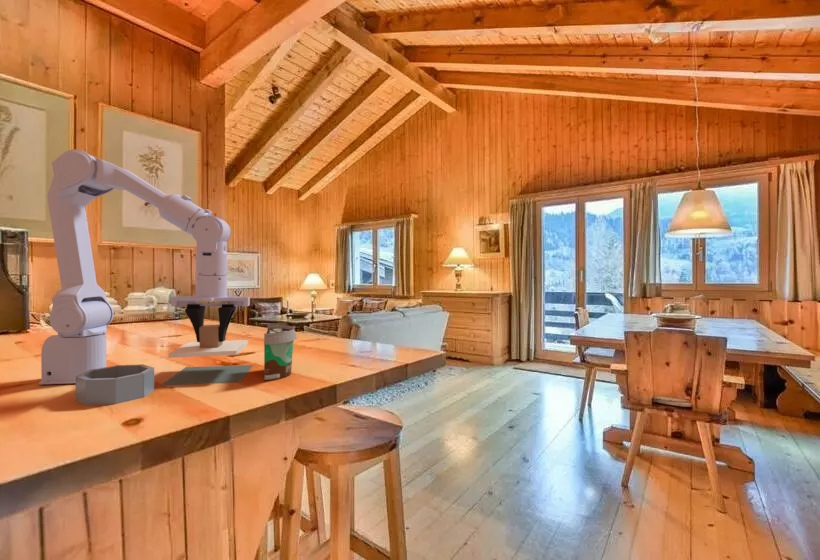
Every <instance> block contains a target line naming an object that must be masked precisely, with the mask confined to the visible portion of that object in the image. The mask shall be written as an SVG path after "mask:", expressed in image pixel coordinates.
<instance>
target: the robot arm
mask: <svg viewBox="0 0 820 560" xmlns="http://www.w3.org/2000/svg"><path fill="white" fill-rule="evenodd" d="M51 165H52V171H53V177H52V180H51V183H50V185H49V188H48V191H47V197H46V198H47V204H48V211H49V216H50V217H49V218H50V223H51V231H52V235H53V236H52V237H53V241H54V248H55V254H56V260H57V261H56V262H57V267H58V274H59V280H60V286H61V287H60V289H58V291H57V292H56V293H55V294H54V295H53V297H52V298H51V300H52V301H51V303H52V308H51V311H50V314H49V324H50V326H51V328H52V329H53V331H55V332H56V333H57V334H54V335H49V336H48V337H47V338H46V339H45V340H44V341H43V344H42V346H41V352H40V353H41V355H40V357H41V360H40V361H41V362H40V363H41V366H40V367H41V370H40V371H41V380H40V381H39V382H38V385H42V386H43V385H62V384H65V385H67V384H68V385H69V384H76V376H77V375H79V374H82V373H84V372H86V371H88V370H92V369H98V368H104V367H107V331H108V325H110V324H111V323H112V321H113V319H114V314H115V312H114V308H113V306H112V305H111V303H110V302H109V301H108V298H107V293H106V291H105V290H104V289H103V288H102V287H101V286H100V285H98V282H97V276H96V270H95V264H94V263H95V262H94V257H93V250H92V244H91V236H90V231H89V230H90V229H89V224H88V218H87V212H86V211H87V210H86V207H87V205H89V204H90V203H91V202H92V201H93V200H95V199H98V198H99V197H102V196H105V195H106V194H109V193H110V192H113V191H115V190H117V191H127V192H128V193H130V194H132V195H134V196H135V197H138V198H140V199H141V200H143V201H145V202H146V203H148V204H150V205H151V206H154V207H156V209H158V212H159V215H160V217H161V218H162V219H163V220H164V221H167V222H169V223H170V224H172V225H174V226H176V227H177V228H179V229H180V230H182V231H184V232H186V233H187V234H189V235H191V236H192V238H193V239H194V240H195V242H196V253H195V256H196V259H195V268H196V269H195V270H196V271H195V295H184V296H183V295H180V296H179V295H175V296H174V295H173V296H171V298H170V307H186V308H185V309H184V311H185V314H186V316H187V317H188V318H189V321H190V323H191V325H192V328H193V331H194V333H195V338H196V342H200V337H199V327H201V326H203V325H205V324H204V323H205V312H206V307H218V309H217V312H218V320H219V323H218V325H219V324H220V328H219V342H223V341H226V336H227V332H228V328H229V324H230V322H231V321H232V320H231V319H232V318H233V315H234V313H235V312H236V310H237V307H249V306H250V305H251V304H250V303H251V297H250V296H238V295H237V296H236V295H234V296H233V295H228V241H229V240H230V238H231V234H232V230H231V227H230V224H228V222H227V221H225V220H224V218H221V217H217V216H212V214H213V211H212V210H209V209H208V208H206V209H204V208H202V207H201V206H198V205H197V204H195V203H194V202H192V201H191V200H192V198H191V197H190V196H188V195H186V194H182V195H180V194H178V193H174V194H169V195H168V194H166V193H164V192H163V191H161V190H160V189H159V188H157V187H155V186H154V185H152V184H151V183H149V182H148V181H146V180H144V179H143V178H141V177H140V176H138V175H136V174H135V173H133V172H132V171H130V170H128V169H125V168H123V167H120V166H119V165H116V164H114V163H112V162H109V161H107V160H104V159H102V158H99V157H96V156H93V155H92V154H89V153H87V152H86V151H84V150H82V149H74V148H73V149H68V150H67V151H64V152H62V153H61V154H60V155H59V156H58V157H57V158H56V159H55V160H53V161H52V162H51ZM203 302H204V303H203ZM214 302H215V303H214ZM217 302H219V303H217Z"/></svg>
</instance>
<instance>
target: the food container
mask: <svg viewBox="0 0 820 560" xmlns="http://www.w3.org/2000/svg"><path fill="white" fill-rule="evenodd" d="M266 329H267V330H266V333H263V334H264V336H263V338H264V339H263V345H264V350H263V351H264V352H263V353H264V355H263V356H264V358H263V361H264V363H263V366H264V371H263V372H264V379H263V380H264V381H263V382H272V381H276V380H282V379H285V378H288V377H289V376H291V375H292V368H293V367H292V364H293V353H294V352H293V351H294V341H296V340H297V339H298V337H297V332H296V330H295V328H294V326H293V327H292V326H288V325H276V324H275V325H267V328H266Z"/></svg>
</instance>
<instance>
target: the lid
mask: <svg viewBox="0 0 820 560" xmlns="http://www.w3.org/2000/svg"><path fill="white" fill-rule="evenodd" d="M219 328H220V324H219V323H218V324H204V325H203V326H201V327H199V337H200V342H197V341H188V342H187V343H184V344H182V345H181V346H179V347H177V348H176V349H174V350H172V351H170V352H168V357H167V358H169V359H172V358H191V357H194V358H195V357H196V358H197V357H216V356H217V357H218V356H219V357H220V356H237V355H238V354H239V353H240V351H242V350H243V349H244V348H245V347H246V346H247V345H248V342H249V340H248V339H244V340H243V339H240V340H239V339H238V340H237V339H235V340H233V339H232V340H225V341H223V342H219Z"/></svg>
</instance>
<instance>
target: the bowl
mask: <svg viewBox="0 0 820 560" xmlns="http://www.w3.org/2000/svg"><path fill="white" fill-rule="evenodd" d="M154 391H155V367H153V366H151V365H150V366H149V365H146V364H142V363H141V364H118V365H117V364H116V365H111V366H106V367H104V368H98V369H92V370H88V371H86V372H84V373H82V374H79V375H77V376H76V383H75V401H76V402H78V403H80V404H82V405H85V406H86V407H87V406H104V405H105V406H106V405H118V404H123V403H127V402H131V401H135V400H140V399H142V398H146V397H147V396H148V395H150V394H151V393H153V392H154Z"/></svg>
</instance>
